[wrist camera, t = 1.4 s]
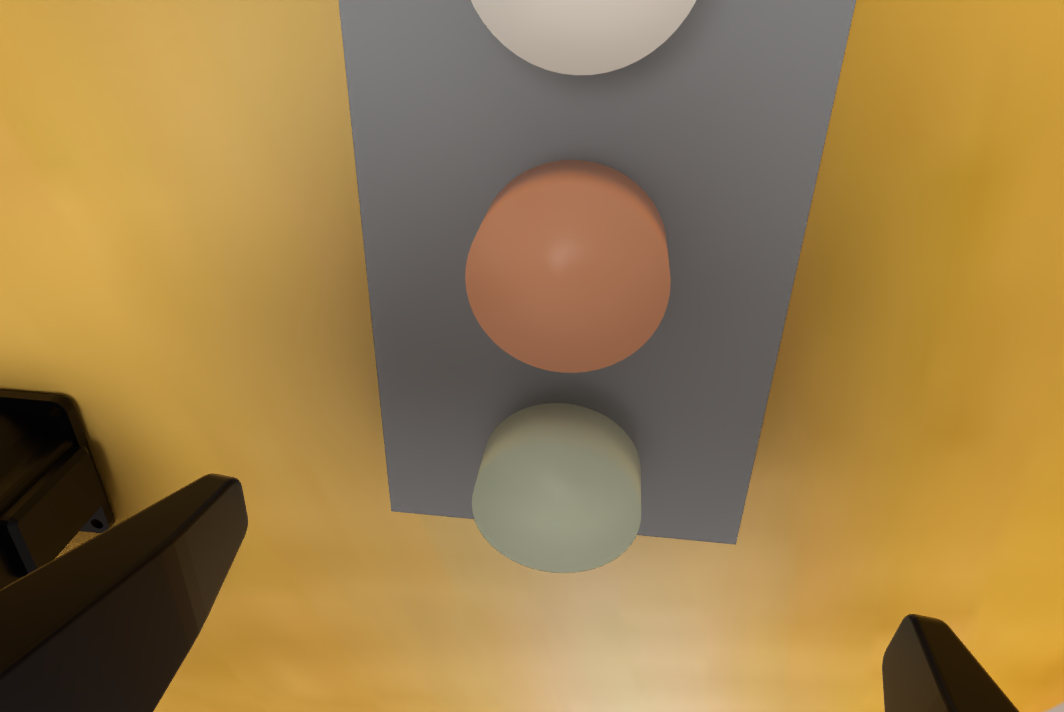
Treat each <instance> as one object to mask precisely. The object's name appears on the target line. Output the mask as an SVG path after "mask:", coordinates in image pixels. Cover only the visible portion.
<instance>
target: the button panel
mask: <svg viewBox="0 0 1064 712" xmlns="http://www.w3.org/2000/svg"><path fill="white" fill-rule="evenodd" d="M855 3H856V0H696V2H695V4H694V6H693V7H692V9H691V11H690V12H689V14H688V15H687V17H686V18H685V19H684V21H683V22H682V23H681V25H680V26H679V27H678V29H677V30H676V31H675V32H674V33H673V34H672V35H671V36H670V37H669V38H668V39H667V40H666V41H665V42H664V43H663V44H661V45H660V46H659V47H658V48H657V49H655V50H654V51H653V52H651V53H650V54H648V55H647V56H645V57H643V58H642V59H640V60H639V61H637V62H635V63H632V64H630V65H628V66H626V67H624V68H621V69H617V70H614V71H611V72H607V73H601V74H595V75H569V74H561V73H557V72H553V71H549V70H545V69H543V68H540V67H538V66H535V65H533V64H531V63H529V62H527V61H526V60H524V59H522V58H520V57H519V56H517V55H516V54H514V53H513V52H512V51H510V50H509V49H508V48H506V47H505V46H504V45H503V44H502V43H501V42H500V41H499V40H498V39H497V38H496V37H495V36H494V35H493V34H492V33H491V31H490V30H489V29H488V28H487V26H486V25H485V24H484V23H483V21H482V20H481V18H480V16H479V15H478V13H477V11H476V10H475V8H474V6H473V4H472V2H471V0H339V9H340V18H341V28H342V38H343V47H344V57H345V67H346V76H347V86H348V96H349V105H350V115H351V125H352V134H353V144H354V154H355V163H356V173H357V183H358V192H359V202H360V212H361V222H362V231H363V241H364V251H365V260H366V270H367V280H368V289H369V299H370V309H371V318H372V328H373V338H374V347H375V357H376V367H377V376H378V386H379V396H380V405H381V415H382V425H383V434H384V444H385V454H386V463H387V473H388V483H389V493H390V502H391V511H395V512H405V513H415V514H426V515H436V516H447V517H457V518H467V519H474V516H473V511H472V495H473V491H474V487H475V483H476V480H477V476H478V472H479V469H480V465H481V461H482V458H483V454H484V450H485V447H486V444H487V441H488V439H489V437H490V435H491V434H492V432H493V431H494V430H495V428H496V427H497V426H498V425H499V424H500V423H501V422H502V421H504V420H505V419H506V418H507V417H509V416H511V415H512V414H514V413H516V412H518V411H520V410H522V409H525V408H528V407H531V406H535V405H540V404H548V403H565V404H573V405H578V406H582V407H586V408H589V409H591V410H594V411H597V412H599V413H601V414H603V415H605V416H606V417H608V418H609V419H611V420H612V421H614V422H615V423H616V424H617V425H619V426H620V427H621V428H622V429H623V430H624V431H625V432H626V433H627V435H628V436H629V437H630V439H631V440H632V442H633V443H634V445H635V447H636V450H637V452H638V455H639V459H640V466H641V522H640V527H639V530H638V533H637V535H643V536H654V537H664V538H674V539H685V540H695V541H705V542H716V543H726V544H736V541H737V537H738V532H739V528H740V523H741V518H742V514H743V509H744V505H745V500H746V496H747V491H748V487H749V482H750V478H751V473H752V469H753V464H754V460H755V455H756V451H757V446H758V442H759V437H760V433H761V428H762V424H763V419H764V414H765V410H766V405H767V401H768V396H769V392H770V387H771V383H772V378H773V374H774V369H775V365H776V360H777V356H778V351H779V347H780V342H781V338H782V333H783V329H784V324H785V320H786V315H787V311H788V306H789V301H790V297H791V292H792V288H793V283H794V279H795V274H796V270H797V265H798V261H799V256H800V252H801V247H802V243H803V238H804V234H805V229H806V225H807V220H808V216H809V211H810V207H811V202H812V197H813V193H814V188H815V184H816V179H817V175H818V170H819V166H820V161H821V157H822V152H823V148H824V143H825V139H826V134H827V130H828V125H829V121H830V116H831V112H832V107H833V103H834V98H835V94H836V89H837V84H838V80H839V75H840V71H841V66H842V62H843V57H844V53H845V48H846V44H847V39H848V35H849V30H850V26H851V21H852V17H853V12H854V8H855ZM560 160H583V161H591V162H595V163H598V164H602V165H605V166H608V167H610V168H613V169H615V170H617V171H619V172H620V173H622V174H624V175H626V176H627V177H629V178H630V179H631V180H633V181H634V182H635V183H637V184H638V185H639V186H640V187H641V188H642V189H643V190H644V191H645V192H646V194H647V195H648V196H649V198H650V199H651V200H652V201H653V203H654V205H655V206H656V208H657V210H658V212H659V214H660V216H661V219H662V221H663V224H664V228H665V232H666V238H667V248H668V258H669V268H670V278H671V284H670V296H669V301H668V305H667V308H666V311H665V314H664V316H663V318H662V320H661V322H660V324H659V326H658V328H657V329H656V330H655V332H654V333H653V335H652V336H651V337H650V338H649V339H648V340H647V342H646V343H645V344H644V345H643V346H642V347H640V348H639V349H638V350H637V351H635V352H634V353H633V354H631V355H630V356H628V357H627V358H625V359H623V360H622V361H619V362H617V363H615V364H613V365H611V366H608V367H605V368H602V369H598V370H593V371H588V372H578V373H562V372H555V371H548V370H544V369H540V368H537V367H534V366H531V365H529V364H526V363H524V362H522V361H520V360H518V359H516V358H514V357H513V356H511V355H510V354H508V353H507V352H505V351H504V350H503V349H501V348H500V347H499V346H498V345H497V344H495V343H494V342H493V341H492V339H491V338H490V337H489V336H488V335H487V334H486V333H485V331H484V330H483V329H482V327H481V326H480V324H479V323H478V321H477V319H476V317H475V315H474V314H473V311H472V308H471V306H470V303H469V300H468V295H467V291H466V282H465V273H466V263H467V258H468V253H469V251H470V248H471V245H472V242H473V240H474V238H475V236H476V234H477V232H478V230H479V227H480V225H481V223H482V221H483V219H484V217H485V215H486V213H487V211H488V209H489V207H490V205H491V203H492V202H493V200H494V199H495V197H496V196H497V195H498V193H499V192H500V191H501V190H502V189H503V188H504V187H505V186H506V185H507V184H508V183H509V182H510V181H512V180H513V179H514V178H515V177H517V176H518V175H520V174H522V173H523V172H525V171H527V170H529V169H531V168H533V167H536V166H538V165H541V164H545V163H549V162H553V161H560Z"/></svg>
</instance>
